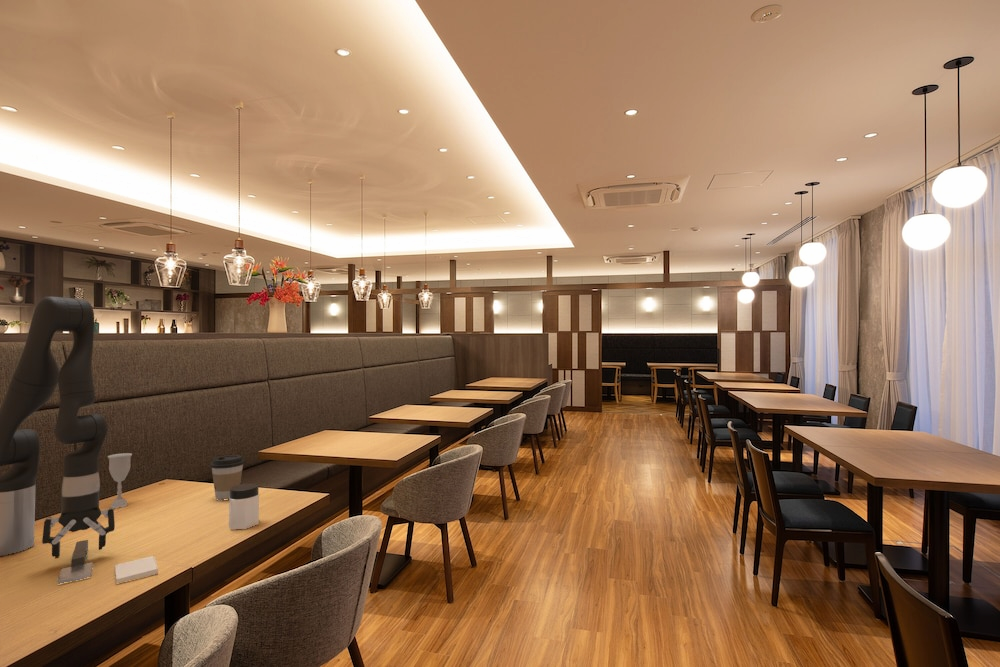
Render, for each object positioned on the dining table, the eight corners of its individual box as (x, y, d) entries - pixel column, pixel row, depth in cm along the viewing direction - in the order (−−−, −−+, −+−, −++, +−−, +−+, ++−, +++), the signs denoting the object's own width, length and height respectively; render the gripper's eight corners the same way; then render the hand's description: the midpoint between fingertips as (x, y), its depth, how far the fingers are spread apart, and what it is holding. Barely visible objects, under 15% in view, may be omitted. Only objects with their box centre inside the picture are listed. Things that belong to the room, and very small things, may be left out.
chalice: (101, 508, 168) (102, 456, 168) (121, 502, 174) (122, 452, 175) (116, 509, 166) (117, 458, 166) (136, 503, 172) (137, 453, 173)
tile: (114, 572, 120) (116, 587, 113) (114, 565, 120) (116, 579, 113) (153, 562, 126) (157, 575, 118) (153, 555, 126) (157, 568, 118)
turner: (90, 578, 116) (90, 566, 116) (57, 586, 113) (57, 573, 113) (96, 548, 134) (96, 538, 134) (67, 554, 130) (67, 543, 130)
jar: (263, 519, 155) (264, 482, 156) (253, 529, 147) (253, 490, 147) (235, 521, 154) (235, 483, 155) (222, 530, 146) (223, 491, 147)
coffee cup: (210, 496, 181) (211, 456, 181) (244, 491, 186) (245, 453, 186) (208, 504, 171) (208, 462, 171) (244, 499, 176) (244, 459, 176)
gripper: (41, 500, 119) (39, 565, 118) (114, 489, 127) (113, 550, 127) (46, 492, 125) (44, 555, 124) (115, 483, 133) (114, 541, 133)
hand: (79, 553), depth 125 cm, fingers open, 8 cm apart
